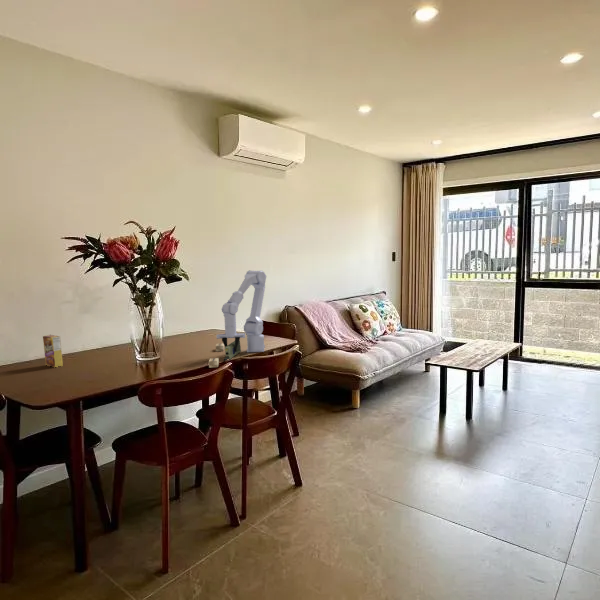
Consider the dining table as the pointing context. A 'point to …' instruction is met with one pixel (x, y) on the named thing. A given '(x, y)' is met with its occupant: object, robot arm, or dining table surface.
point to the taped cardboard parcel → (215, 361)
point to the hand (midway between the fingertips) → (231, 351)
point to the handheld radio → (231, 350)
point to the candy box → (52, 350)
